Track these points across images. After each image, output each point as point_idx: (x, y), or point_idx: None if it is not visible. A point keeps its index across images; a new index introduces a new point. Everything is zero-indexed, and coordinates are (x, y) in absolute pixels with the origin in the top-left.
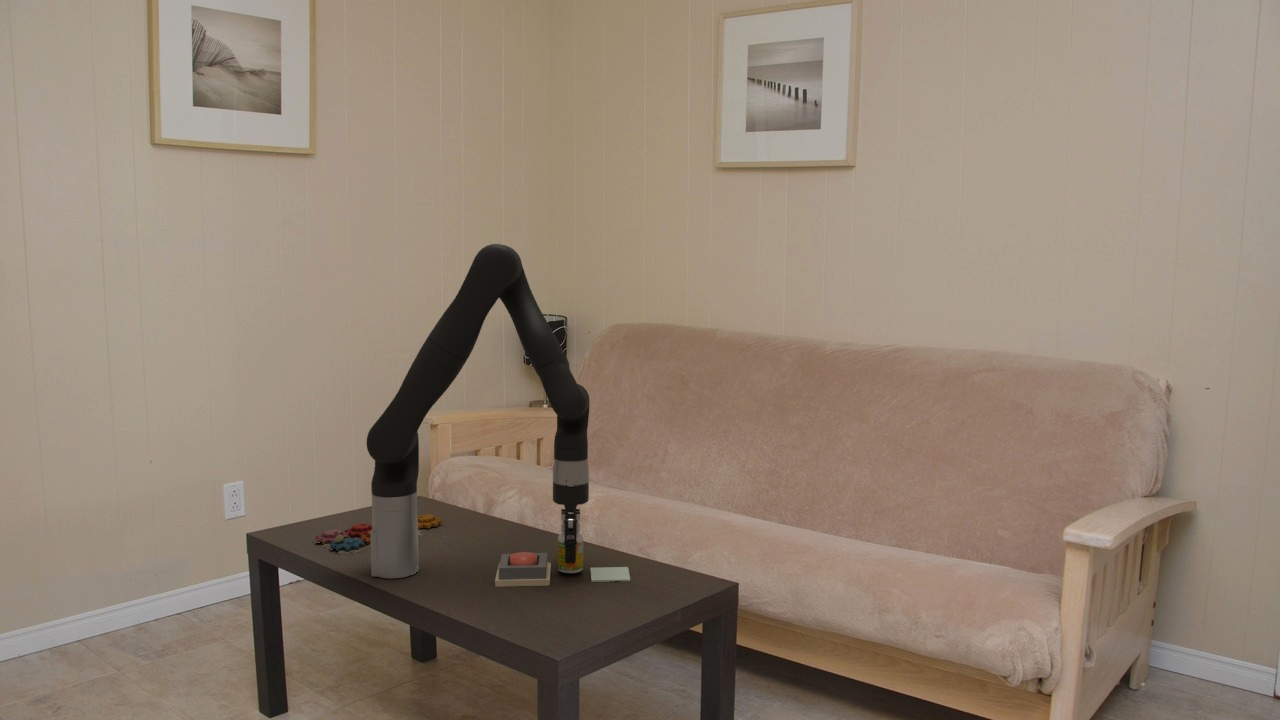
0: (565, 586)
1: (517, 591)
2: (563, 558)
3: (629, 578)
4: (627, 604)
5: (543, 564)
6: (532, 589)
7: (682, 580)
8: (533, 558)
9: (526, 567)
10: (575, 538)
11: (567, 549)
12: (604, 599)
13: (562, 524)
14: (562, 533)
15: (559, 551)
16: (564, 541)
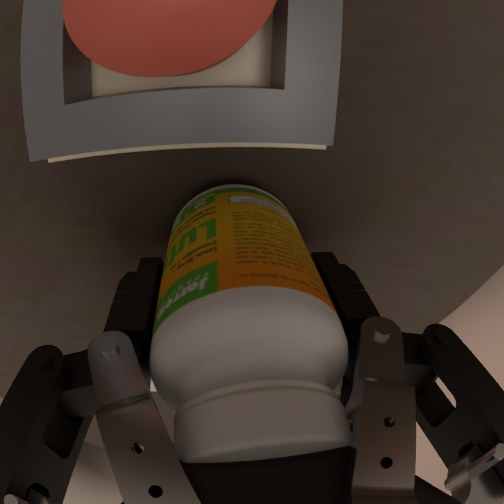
0: (62, 220)
1: (2, 37)
2: (171, 253)
3: (156, 390)
4: (3, 361)
5: (74, 135)
6: (18, 89)
7: (173, 441)
8: (94, 61)
9: (22, 44)
10: (45, 432)
11: (107, 327)
12: (5, 326)
13: (120, 490)
14: (236, 373)
15: (192, 252)
16: (38, 368)
